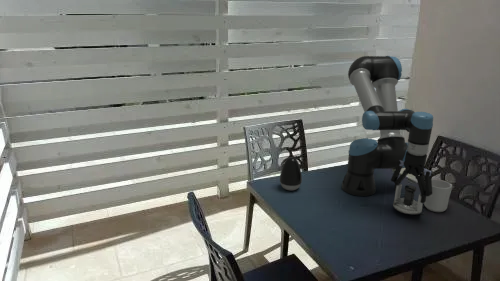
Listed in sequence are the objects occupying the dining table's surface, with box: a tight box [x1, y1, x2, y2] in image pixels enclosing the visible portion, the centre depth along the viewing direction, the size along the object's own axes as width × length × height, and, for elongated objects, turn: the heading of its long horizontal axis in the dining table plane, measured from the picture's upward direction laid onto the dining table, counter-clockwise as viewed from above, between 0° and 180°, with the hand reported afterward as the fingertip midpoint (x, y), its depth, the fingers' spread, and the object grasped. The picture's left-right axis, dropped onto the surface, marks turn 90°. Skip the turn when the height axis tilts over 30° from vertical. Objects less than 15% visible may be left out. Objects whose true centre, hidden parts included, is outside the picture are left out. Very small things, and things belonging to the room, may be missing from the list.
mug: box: [423, 178, 453, 213], centre depth 158 cm, size 12×9×11 cm
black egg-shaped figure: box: [279, 155, 303, 191], centre depth 173 cm, size 10×10×15 cm
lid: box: [392, 184, 424, 215], centre depth 153 cm, size 11×11×9 cm
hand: (407, 203), depth 154 cm, fingers closed on lid, 9 cm apart
